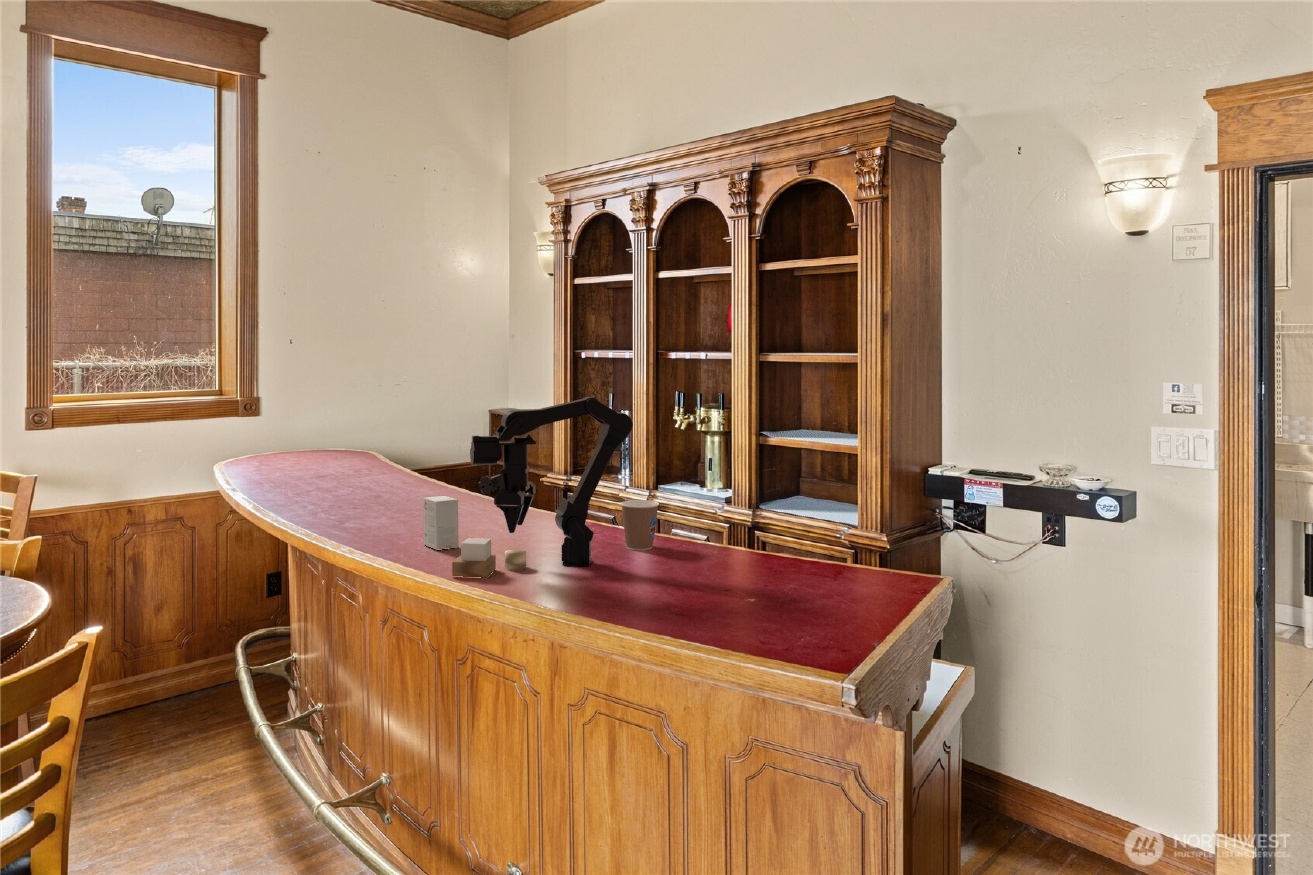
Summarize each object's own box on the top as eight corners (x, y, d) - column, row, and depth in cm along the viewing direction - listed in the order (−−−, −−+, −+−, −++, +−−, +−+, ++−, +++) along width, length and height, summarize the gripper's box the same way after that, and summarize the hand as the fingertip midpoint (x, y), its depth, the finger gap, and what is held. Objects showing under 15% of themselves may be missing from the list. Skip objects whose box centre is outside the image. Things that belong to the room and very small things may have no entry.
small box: (459, 548, 218) (458, 499, 217) (436, 551, 214) (435, 501, 213) (445, 542, 225) (445, 495, 224) (423, 546, 221) (422, 497, 220)
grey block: (491, 555, 195) (491, 538, 195) (485, 561, 190) (485, 543, 190) (468, 554, 196) (468, 538, 195) (461, 560, 190) (461, 543, 190)
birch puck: (528, 565, 201) (528, 549, 201) (523, 571, 196) (523, 554, 196) (507, 565, 201) (507, 549, 201) (502, 570, 196) (502, 553, 196)
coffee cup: (658, 552, 217) (658, 506, 216) (618, 551, 217) (619, 506, 216) (659, 543, 227) (659, 500, 226) (621, 543, 228) (621, 499, 227)
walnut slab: (495, 571, 197) (495, 554, 196) (487, 580, 189) (487, 562, 188) (462, 570, 197) (462, 553, 197) (452, 579, 189) (452, 561, 189)
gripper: (491, 458, 206) (491, 520, 208) (471, 468, 188) (472, 536, 189) (535, 459, 206) (536, 521, 207) (520, 468, 187) (520, 537, 188)
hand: (515, 528), depth 198 cm, fingers open, 9 cm apart
